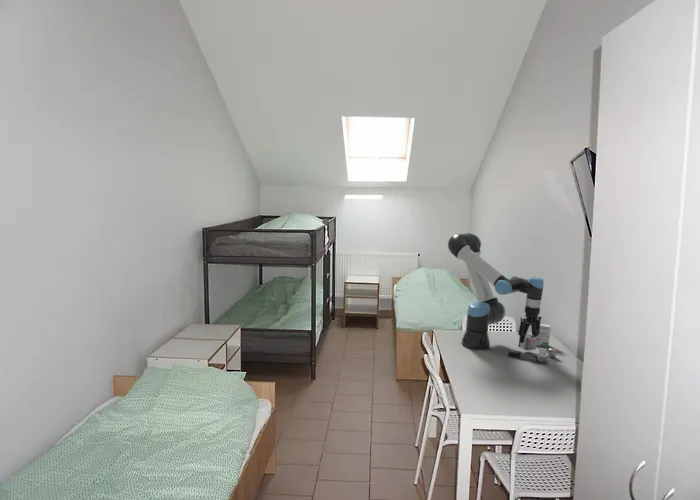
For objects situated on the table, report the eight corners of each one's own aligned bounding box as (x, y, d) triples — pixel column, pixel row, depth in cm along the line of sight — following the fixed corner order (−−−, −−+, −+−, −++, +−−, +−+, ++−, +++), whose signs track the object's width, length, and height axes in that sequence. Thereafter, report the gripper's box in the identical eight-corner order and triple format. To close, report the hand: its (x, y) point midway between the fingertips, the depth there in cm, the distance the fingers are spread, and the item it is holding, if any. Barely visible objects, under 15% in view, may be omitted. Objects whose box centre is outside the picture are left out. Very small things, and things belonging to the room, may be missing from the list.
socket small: (546, 357, 274) (547, 349, 273) (548, 355, 277) (549, 347, 277) (555, 359, 272) (556, 350, 271) (556, 357, 275) (557, 348, 275)
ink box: (548, 344, 296) (550, 324, 295) (548, 347, 292) (550, 327, 290) (532, 342, 299) (534, 322, 297) (532, 344, 294) (534, 324, 293)
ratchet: (507, 356, 271) (509, 343, 270) (510, 353, 276) (511, 341, 275) (546, 365, 262) (547, 351, 261) (548, 361, 267) (549, 348, 266)
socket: (518, 346, 281) (519, 334, 280) (526, 345, 284) (528, 333, 283) (527, 350, 275) (529, 338, 274) (536, 349, 279) (537, 336, 277)
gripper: (525, 309, 268) (519, 351, 272) (550, 306, 278) (544, 347, 281) (514, 305, 274) (508, 347, 278) (539, 303, 284) (533, 343, 288)
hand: (526, 347), depth 280 cm, fingers closed on socket, 6 cm apart
